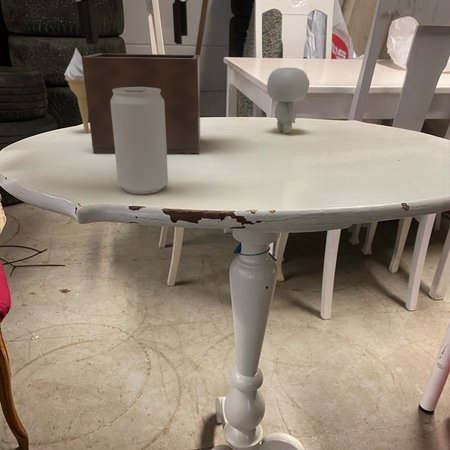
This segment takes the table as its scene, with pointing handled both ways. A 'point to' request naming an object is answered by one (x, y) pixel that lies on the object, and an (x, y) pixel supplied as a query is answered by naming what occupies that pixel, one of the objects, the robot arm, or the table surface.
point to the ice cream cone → (78, 85)
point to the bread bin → (145, 77)
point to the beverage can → (139, 139)
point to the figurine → (287, 94)
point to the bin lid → (202, 27)
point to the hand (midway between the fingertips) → (135, 43)
